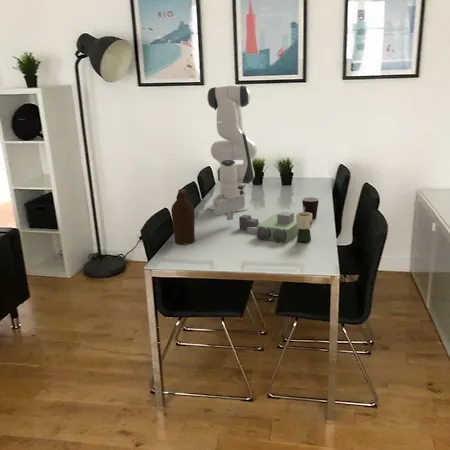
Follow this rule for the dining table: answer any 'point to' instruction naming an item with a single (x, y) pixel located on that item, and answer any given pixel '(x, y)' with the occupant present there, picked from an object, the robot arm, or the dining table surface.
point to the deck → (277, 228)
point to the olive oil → (183, 219)
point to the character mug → (304, 226)
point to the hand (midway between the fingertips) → (229, 219)
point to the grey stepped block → (247, 222)
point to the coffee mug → (310, 205)
